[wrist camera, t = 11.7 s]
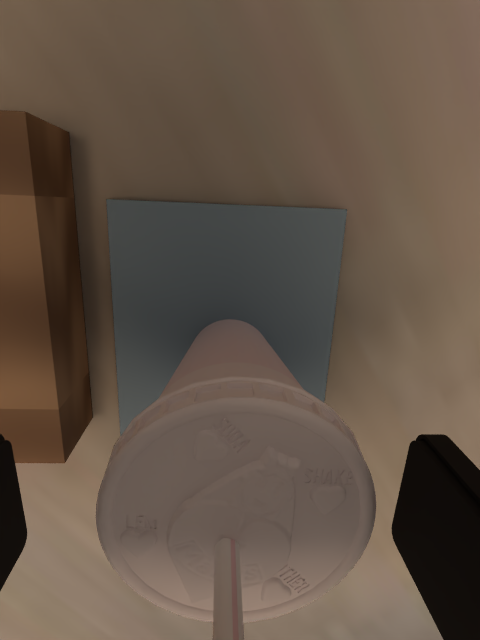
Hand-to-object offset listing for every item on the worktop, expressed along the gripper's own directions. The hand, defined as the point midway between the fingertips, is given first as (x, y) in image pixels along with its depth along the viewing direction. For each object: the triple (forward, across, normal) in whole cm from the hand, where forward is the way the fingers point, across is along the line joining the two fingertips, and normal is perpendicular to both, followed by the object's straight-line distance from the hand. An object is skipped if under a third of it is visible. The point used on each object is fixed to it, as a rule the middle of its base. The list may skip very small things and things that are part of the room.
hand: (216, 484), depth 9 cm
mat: (+10, 0, +1) cm, 10 cm away
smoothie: (+9, -1, +1) cm, 9 cm away
